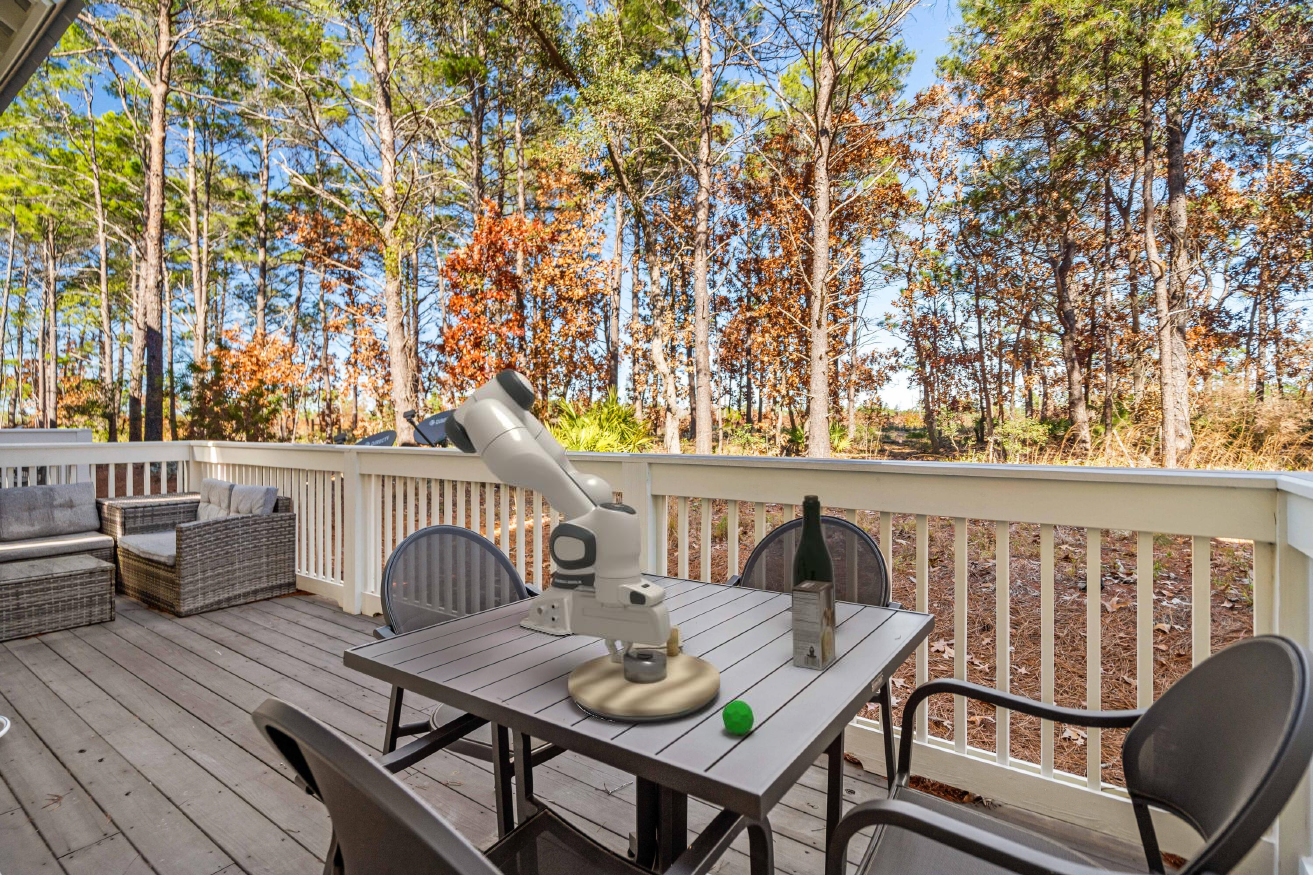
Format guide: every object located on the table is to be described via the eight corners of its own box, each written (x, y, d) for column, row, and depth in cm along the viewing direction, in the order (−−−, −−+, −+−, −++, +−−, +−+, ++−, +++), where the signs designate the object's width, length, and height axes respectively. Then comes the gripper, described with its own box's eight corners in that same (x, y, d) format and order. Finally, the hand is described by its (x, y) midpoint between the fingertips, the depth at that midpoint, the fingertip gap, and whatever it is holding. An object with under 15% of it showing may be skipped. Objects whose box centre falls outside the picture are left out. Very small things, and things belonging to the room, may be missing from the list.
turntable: (536, 698, 110) (536, 661, 110) (616, 650, 135) (616, 620, 135) (682, 728, 98) (682, 686, 98) (740, 669, 123) (740, 636, 123)
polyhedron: (720, 726, 102) (720, 696, 102) (750, 725, 103) (749, 695, 103) (725, 740, 97) (725, 709, 97) (756, 739, 98) (756, 708, 98)
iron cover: (615, 679, 115) (615, 657, 115) (637, 665, 122) (636, 644, 122) (654, 686, 111) (654, 663, 111) (674, 671, 118) (673, 649, 118)
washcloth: (629, 661, 135) (629, 646, 135) (631, 635, 153) (631, 623, 153) (685, 659, 135) (684, 645, 135) (680, 634, 153) (680, 621, 153)
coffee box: (806, 653, 137) (805, 579, 137) (836, 658, 133) (834, 582, 134) (792, 666, 129) (790, 587, 129) (823, 671, 126) (821, 591, 126)
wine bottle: (844, 634, 149) (841, 496, 150) (803, 638, 147) (800, 497, 147) (823, 622, 159) (820, 492, 160) (785, 626, 157) (782, 494, 158)
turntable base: (545, 707, 111) (544, 684, 111) (619, 660, 134) (619, 641, 134) (679, 735, 99) (679, 710, 99) (735, 678, 123) (735, 658, 123)
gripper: (563, 587, 121) (564, 659, 121) (658, 598, 112) (659, 676, 111) (581, 581, 126) (582, 650, 126) (673, 590, 117) (674, 664, 117)
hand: (619, 662), depth 119 cm, fingers closed
